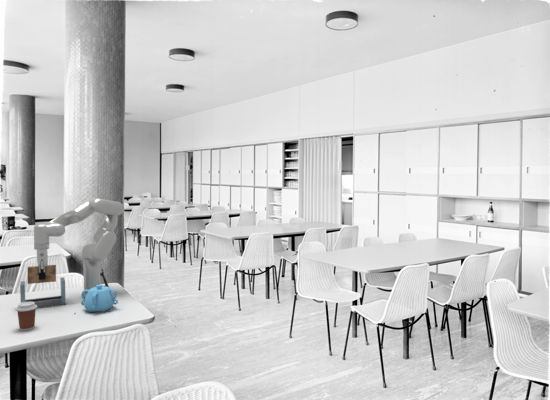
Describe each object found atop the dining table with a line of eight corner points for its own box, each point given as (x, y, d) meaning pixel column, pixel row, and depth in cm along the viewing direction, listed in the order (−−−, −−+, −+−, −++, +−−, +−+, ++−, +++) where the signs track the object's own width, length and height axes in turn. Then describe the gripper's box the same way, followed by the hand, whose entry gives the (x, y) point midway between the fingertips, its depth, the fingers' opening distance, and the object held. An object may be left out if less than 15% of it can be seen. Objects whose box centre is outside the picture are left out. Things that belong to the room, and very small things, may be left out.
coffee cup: (35, 323, 221) (34, 299, 220) (39, 328, 214) (39, 303, 214) (14, 327, 215) (13, 303, 214) (18, 332, 208) (17, 307, 208)
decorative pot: (79, 309, 245) (78, 285, 244) (107, 303, 256) (107, 280, 255) (90, 316, 233) (89, 290, 232) (120, 309, 244) (119, 285, 243)
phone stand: (108, 285, 295) (108, 268, 294) (108, 288, 290) (108, 269, 289) (93, 287, 292) (93, 269, 291) (93, 289, 286) (93, 271, 285)
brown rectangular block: (55, 280, 254) (55, 264, 254) (56, 281, 252) (55, 265, 251) (27, 282, 248) (27, 266, 247) (27, 283, 245) (27, 267, 245)
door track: (64, 300, 260) (64, 277, 259) (65, 304, 252) (65, 280, 251) (21, 306, 250) (20, 281, 249) (21, 310, 242) (20, 285, 241)
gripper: (49, 248, 244) (50, 281, 244) (48, 243, 258) (49, 275, 259) (34, 248, 240) (34, 282, 241) (34, 244, 254) (34, 276, 255)
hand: (42, 278), depth 250 cm, fingers closed on brown rectangular block, 3 cm apart
